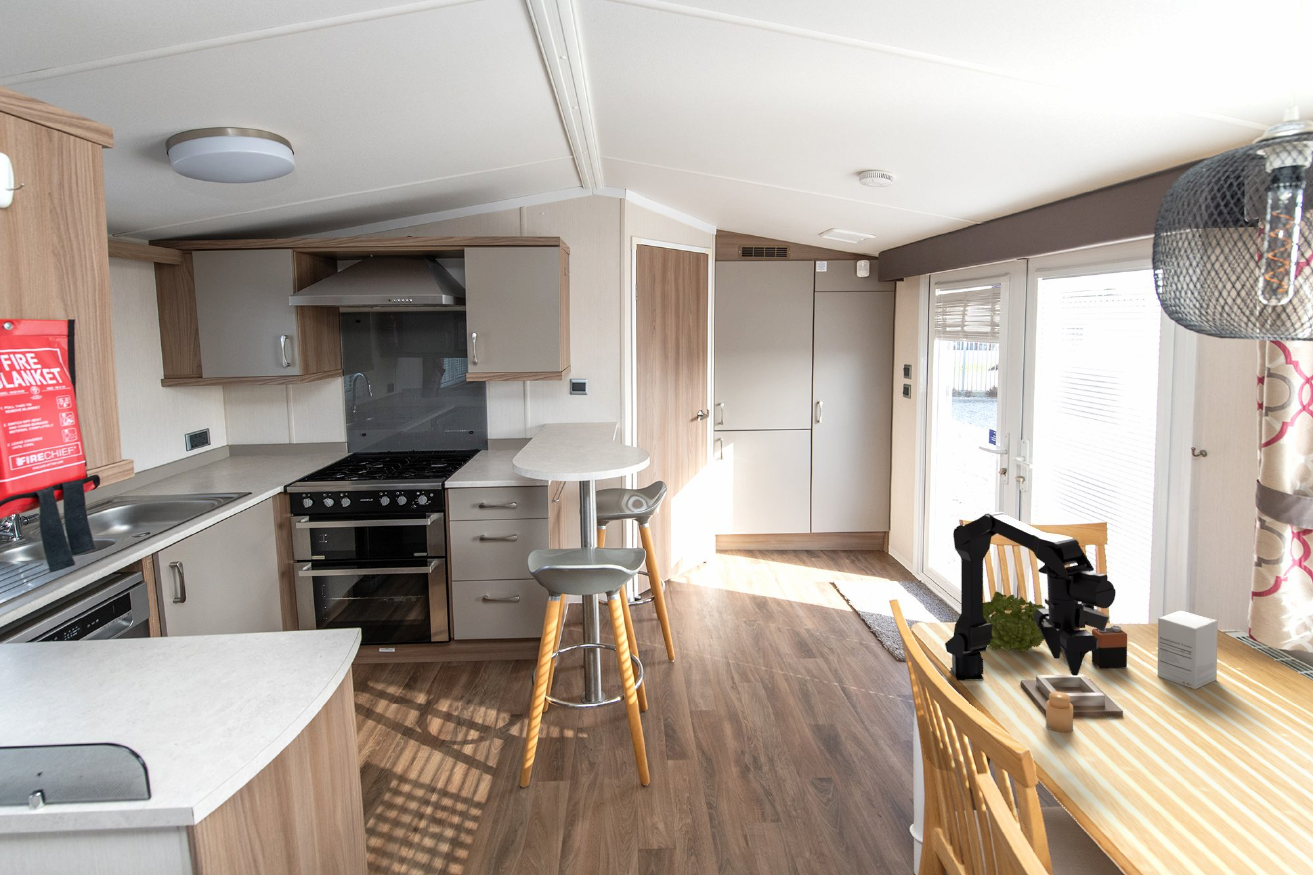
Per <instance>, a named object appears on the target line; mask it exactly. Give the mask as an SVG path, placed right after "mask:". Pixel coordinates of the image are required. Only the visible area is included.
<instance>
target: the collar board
mask: <svg viewBox="0 0 1313 875" xmlns="http://www.w3.org/2000/svg"><path fill="white" fill-rule="evenodd" d="M1020 685H1021V687H1022V688H1023V690H1024V691H1025V693H1027V694H1028V696H1029V697H1030V698H1031V699H1032V700H1033V702H1034V703H1035V704H1036V705H1037V707H1038V708H1039V709H1040V710H1041V712H1042V713H1043V714H1044V715H1045V716H1046V702H1047V701H1048V700H1049V694H1050V693H1051V692H1062V693H1065V694H1067V695H1069V696H1070V703H1071V704H1072V705H1073V718H1079V717H1080V718H1081V717H1085V718H1087V717H1089V718H1090V717H1124V710H1122V708H1120V706H1119V705H1118V704H1116V703H1115V701H1113V700H1112V699H1111V697H1109V696H1108V695H1107V694H1106V692H1104V691H1103V690H1102V689H1101V688H1100V687H1099V686H1098V685H1097V684H1096V683H1095V682H1094V681H1093V680H1092V679H1091V678H1088V677H1086V675H1085V674H1083V673H1082V674H1079V673H1078V675H1077V676H1073V675H1072V674H1037V675H1035V679H1021V680H1020Z"/></svg>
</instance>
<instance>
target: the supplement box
mask: <svg viewBox="0 0 1313 875" xmlns="http://www.w3.org/2000/svg"><path fill="white" fill-rule="evenodd" d="M1157 620H1158V621H1157V624H1158V625H1157V677H1159V678H1162V679H1165V680H1168V681H1170V682H1173V683H1176V684H1179V685H1181V686H1184V685H1185V687H1187V686H1188V688H1190V687H1191V688H1190V689H1193V690H1197V689H1198V688H1201V687H1204V686H1206V685H1207V684H1211V683H1213V682H1214V681H1217V679H1218V678H1217V676H1218V620H1217V619H1214V618H1213V619H1212V618H1209V617H1205V616H1201V615H1198V614H1195V613H1192V612H1187V611H1184V610H1177V611H1175V612H1171V613H1169V614H1166V615H1164V616H1160V617H1158V618H1157Z"/></svg>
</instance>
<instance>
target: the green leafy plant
mask: <svg viewBox="0 0 1313 875" xmlns="http://www.w3.org/2000/svg"><path fill="white" fill-rule="evenodd" d="M991 598H992V599H991V601H989V600H988V601H983V616H984V618H985V619H986V621H987V622H988V623H991V624H992V637H993V639H991V642H990V644H989V645H988V646H987V647H988V648H989V649H991V650H993V649H994V650H1000V649H1003V650H1004V651H1007V652H1010V651H1011V649H1014V650H1016V652H1020V653H1027V652H1028V651H1029V649H1032V648H1038V647H1040V646H1041V645H1042V644H1043V642H1045V640H1044V638H1043V636H1042V634H1041V632H1040V630H1039V629H1038V627H1037V625H1036V624H1037V623H1036V622H1034V614H1033V613H1034V612H1035V611H1036V610H1037V609H1046V605H1043V604H1036V603H1033V602H1032V601H1031V600H1029V601H1026V600H1025V599H1024V597H1023V596H1020V597H1019V599H1018V597H1015V595H1014V594H1010V595H1008V596H1007V594H1003V593H1001V592H1000V591H997V590H996V591H995V592H994V593H993V596H992V597H991ZM1023 606H1024V607H1023ZM1007 611H1009V612H1010V613H1009V612H1007Z"/></svg>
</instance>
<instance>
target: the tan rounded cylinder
mask: <svg viewBox="0 0 1313 875" xmlns="http://www.w3.org/2000/svg"><path fill="white" fill-rule="evenodd" d="M1045 725H1046V727H1047V728H1048V729H1050V730H1052V731H1053V732H1057V733H1070V732H1072V731H1073V729H1074V717H1073V705H1072V704H1071V703H1070V696H1069V695H1067V694H1065V693H1062V692H1051V693H1050V694H1049V700H1048V701H1047V702H1046V715H1045Z"/></svg>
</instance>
